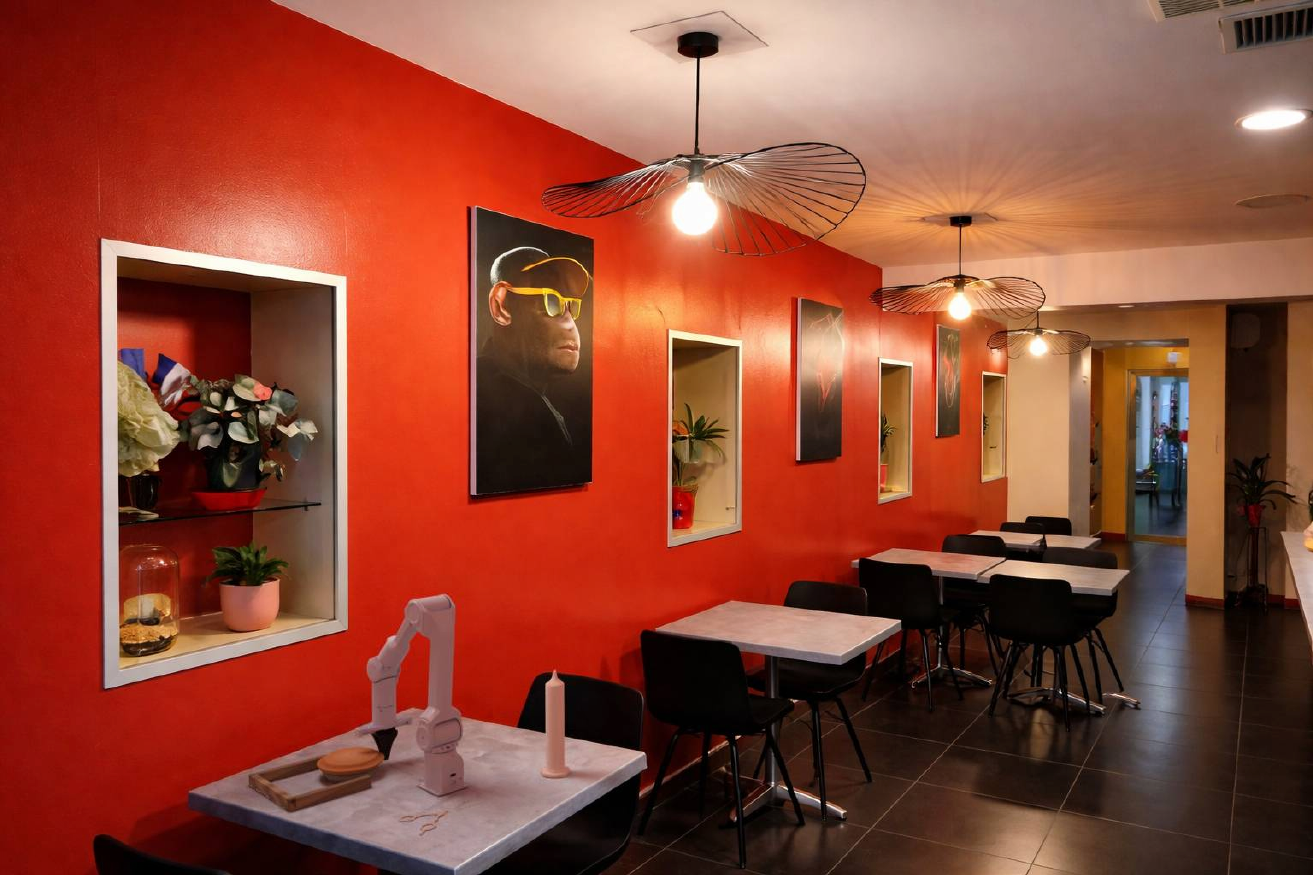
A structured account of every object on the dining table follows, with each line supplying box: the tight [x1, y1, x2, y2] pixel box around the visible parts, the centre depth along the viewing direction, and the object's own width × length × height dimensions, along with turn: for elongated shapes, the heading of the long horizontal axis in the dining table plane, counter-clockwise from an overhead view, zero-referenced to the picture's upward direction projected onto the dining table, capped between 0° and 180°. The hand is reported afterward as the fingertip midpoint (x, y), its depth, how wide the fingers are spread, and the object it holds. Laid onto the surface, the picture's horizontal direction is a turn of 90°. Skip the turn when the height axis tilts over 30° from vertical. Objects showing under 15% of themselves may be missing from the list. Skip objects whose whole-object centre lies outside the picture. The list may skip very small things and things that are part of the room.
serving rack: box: [248, 753, 372, 812], centre depth 219 cm, size 22×20×2 cm
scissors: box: [397, 797, 472, 836], centre depth 204 cm, size 11×1×20 cm
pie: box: [317, 746, 384, 784], centre depth 227 cm, size 15×16×5 cm
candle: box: [540, 669, 571, 779], centre depth 227 cm, size 7×7×25 cm
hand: (384, 759), depth 233 cm, fingers closed
